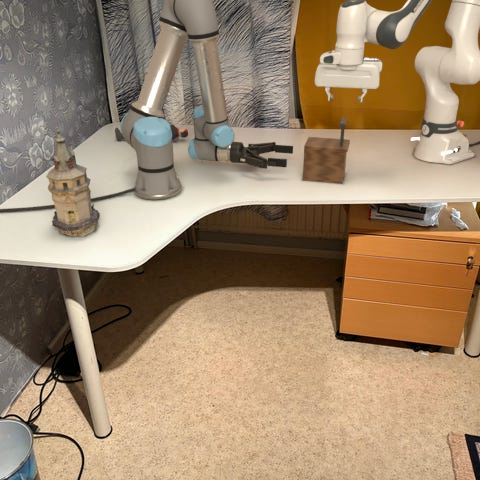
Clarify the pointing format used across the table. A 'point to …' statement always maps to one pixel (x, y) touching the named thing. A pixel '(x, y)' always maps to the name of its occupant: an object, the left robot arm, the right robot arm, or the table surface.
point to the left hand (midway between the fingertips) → (290, 156)
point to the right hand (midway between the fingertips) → (345, 101)
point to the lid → (329, 141)
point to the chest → (324, 166)
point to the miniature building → (70, 193)
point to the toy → (175, 131)
